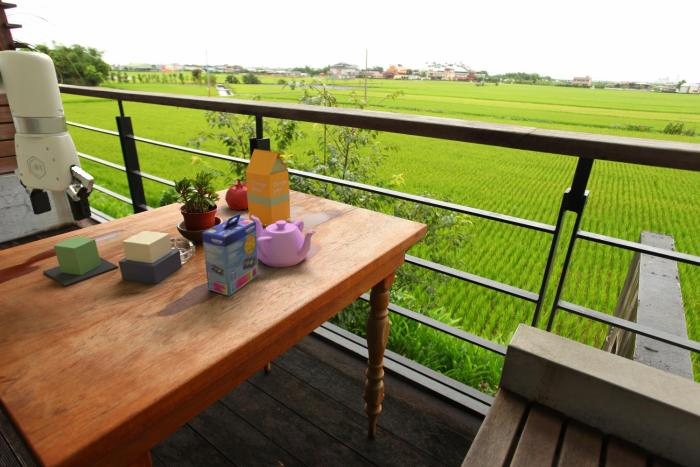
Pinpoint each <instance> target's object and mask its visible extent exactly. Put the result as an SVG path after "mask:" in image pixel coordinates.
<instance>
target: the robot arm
mask: <svg viewBox="0 0 700 467" xmlns="http://www.w3.org/2000/svg"><path fill="white" fill-rule="evenodd" d="M56 72H57V71H56V68H55V64H54V60H53V59H52V58H51V57H50V56H49V55H48V54H46V53H44V52H39V51H29V50H0V95H3V94H6V98H7V102H8V105H9V110H10V113H11V118H12V121H13V124H14V128H15V132H16V133H14V149H15V158H16V163H17V168H15V169H14V170H13V171H14V172H13V173H14V174H15V175H16V178H18V180H19V183H20V185H21V186H22V187H23V188H24V189H25V193H26V195H28V196H29V201H30V204H31V207H32V211H33V214H34V215H37V216H39V215H42V214H45V213H48V212H51V211H52V206H51V201H50V197H49V193H48V191H50V192H51V191H52V192H63V191H65V192H66V193H67V194H68V195H69V196H70V197H71V198H72V200H70V204H71V208H72V213H73V217H74V220H75V221H77V222H80V221H82V220H86V219H89V218H91V217H92V210H91V207H90V206H91V205H90V201H89V198H90V197H91V194H92V192H93V191H94V184H95V178H94V177H93V176H92V175H90V174H89V173H87V172H85V171H84V170H83V169H82V164H81V161H80V158H79V155H78V151H77V149H76V145H75V142H74V141H73V138H72V136H71V134H70V132H69V128H68V123H67V119H66V114H65V109H64V105H63V101H62V95H61V91H60V86H59V82H58V81H59V80H58V77H57V73H56ZM75 189H76V190H78V191H76V190H75Z"/></svg>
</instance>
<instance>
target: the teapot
mask: <svg viewBox="0 0 700 467" xmlns="http://www.w3.org/2000/svg"><path fill="white" fill-rule="evenodd" d="M251 217H252V218H253V220H254V221H256V237H257V259H258V260H259V261H260V262H262V263H263V264H264V265H265V266H266V265H267V266H268V267H273V268H288V267H293V266H296V265H297V264H299V263H301V262H302V261H303V260H304V259H305V258H306V257H307V255H308V253H309V252H310V251H311V247H312V246H311V245H312V244H311V243H312V241H311V240H312V236H313V235H314V234H315V233H317V230H316V231H315V230H312V231H310V230H309V231H307V232H306V234H305V235H303V232H304V226H305V223H304V220H303V219H297V220H296V221H294V222H293V223H291V222H286V221H283V220H280V221H276V223H275V224H271V225H269V226H265V228H263V225H261V222H260V220H259V219H258V218H257V217H256V216H254V215H251Z"/></svg>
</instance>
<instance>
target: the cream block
mask: <svg viewBox="0 0 700 467" xmlns="http://www.w3.org/2000/svg"><path fill="white" fill-rule="evenodd" d="M122 246H123V250H124V256H125V257H126V260H132V261H139V262H146V263H154V262H155V261H157V260H159V259H160V258H162V257H163V256H165V255H167V254H168V253H170V252H172V249H173V248H172V242H171V235H170V233H168V232H159V231H153V230H152V231H150V230H142V231H141V232H139V233H136V234H135V235H132V236H130V237H128V238H126V239H124V240H122Z"/></svg>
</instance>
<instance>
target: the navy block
mask: <svg viewBox="0 0 700 467" xmlns="http://www.w3.org/2000/svg"><path fill="white" fill-rule="evenodd" d="M117 263H118V267H119V271H120V275H121V279H122V280H126V281H132V282H139V283H146V284H151V285H158V284H159V283H161V282H162V281H164V280H165V279H167V278H168V277H170V276H171V275H173V274H174V273H176V272H177V271H178V270H180V269H181V268H183V263H182V257H181V251H180V249H175V248H172V252H170V253H168V254H167V255H165V256H163V257H162V258H160V259H159V260H157V261H155V262H154V263H146V262H139V261H132V260H126V256H125V257H124V258H122V259H119V260H118V261H117Z"/></svg>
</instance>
